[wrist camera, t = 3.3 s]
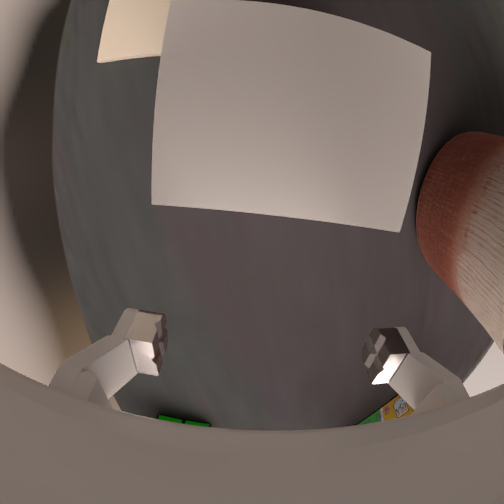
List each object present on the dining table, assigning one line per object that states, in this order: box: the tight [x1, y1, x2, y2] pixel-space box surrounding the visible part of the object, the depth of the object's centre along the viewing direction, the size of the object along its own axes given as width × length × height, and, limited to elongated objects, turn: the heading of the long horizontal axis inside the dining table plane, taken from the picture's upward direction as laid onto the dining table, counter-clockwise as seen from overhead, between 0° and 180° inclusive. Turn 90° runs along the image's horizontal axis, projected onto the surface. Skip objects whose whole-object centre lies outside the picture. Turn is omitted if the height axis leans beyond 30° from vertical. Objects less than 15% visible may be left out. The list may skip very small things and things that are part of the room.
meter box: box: [152, 0, 431, 232], centre depth 15 cm, size 8×10×14 cm
